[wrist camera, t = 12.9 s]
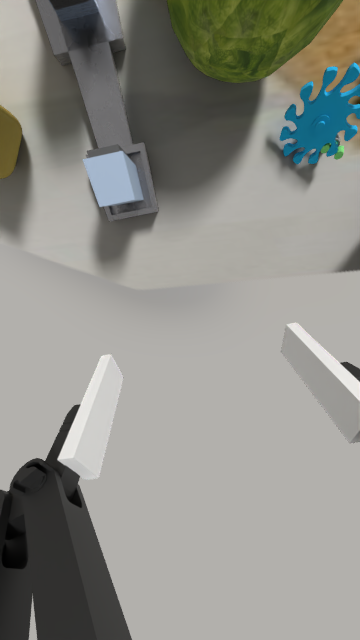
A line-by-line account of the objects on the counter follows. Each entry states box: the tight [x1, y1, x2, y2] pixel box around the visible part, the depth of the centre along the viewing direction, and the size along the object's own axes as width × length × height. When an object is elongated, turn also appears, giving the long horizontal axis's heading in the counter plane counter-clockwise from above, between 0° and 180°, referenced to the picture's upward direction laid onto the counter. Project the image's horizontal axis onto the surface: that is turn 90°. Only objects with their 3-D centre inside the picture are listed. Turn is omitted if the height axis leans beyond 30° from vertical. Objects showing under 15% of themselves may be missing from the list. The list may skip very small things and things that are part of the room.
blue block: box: [83, 144, 144, 207], centre depth 25 cm, size 4×5×10 cm
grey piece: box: [36, 0, 159, 221], centre depth 21 cm, size 9×27×12 cm, turn 10°
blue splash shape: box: [280, 63, 360, 164], centre depth 26 cm, size 11×6×10 cm
